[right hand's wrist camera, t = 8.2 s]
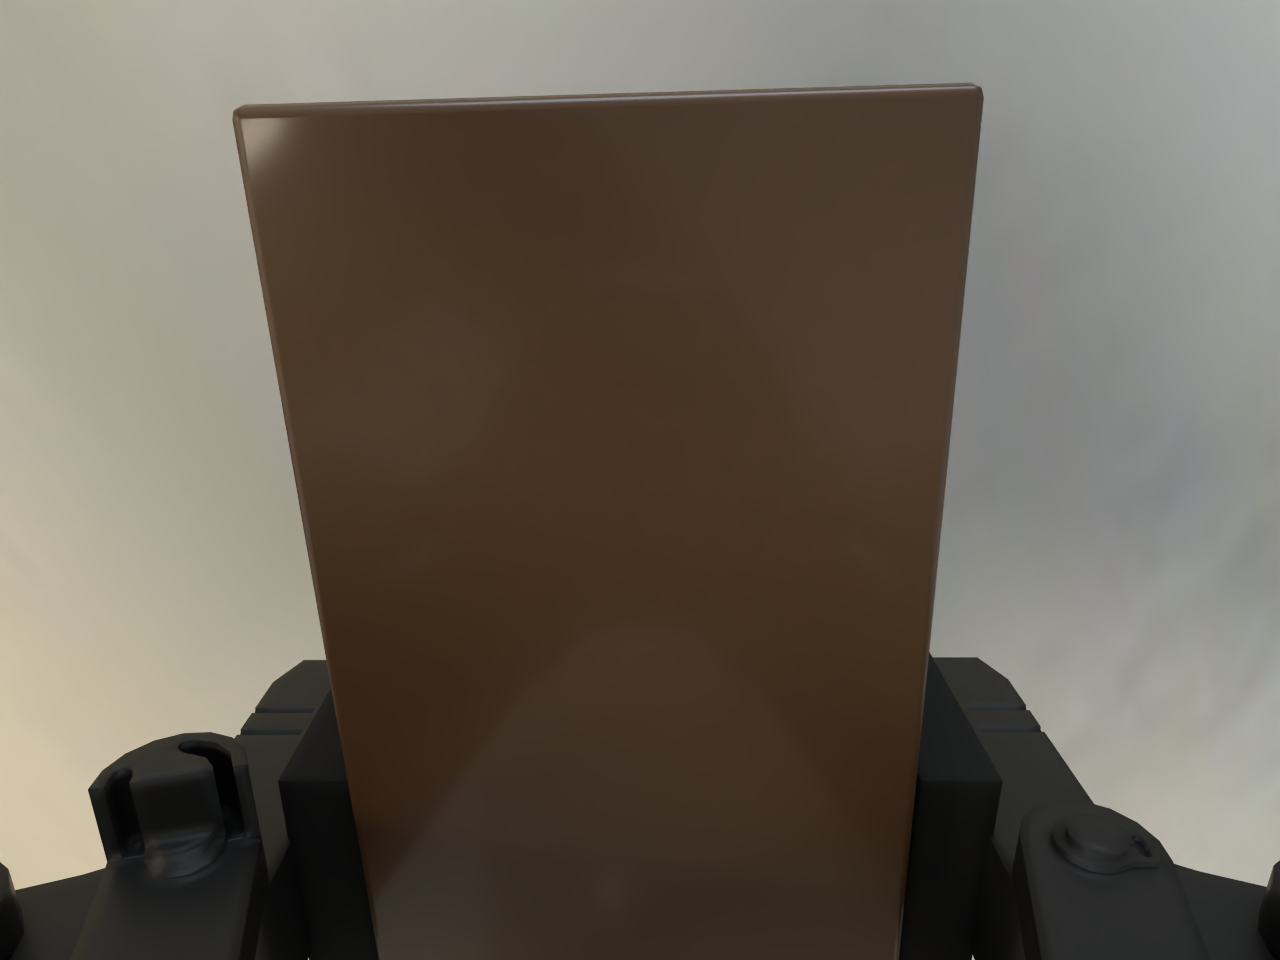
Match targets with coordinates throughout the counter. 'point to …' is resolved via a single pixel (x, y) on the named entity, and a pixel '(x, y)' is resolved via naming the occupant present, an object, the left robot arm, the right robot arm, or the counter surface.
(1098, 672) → the counter surface
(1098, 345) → the counter surface
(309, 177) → the bar
